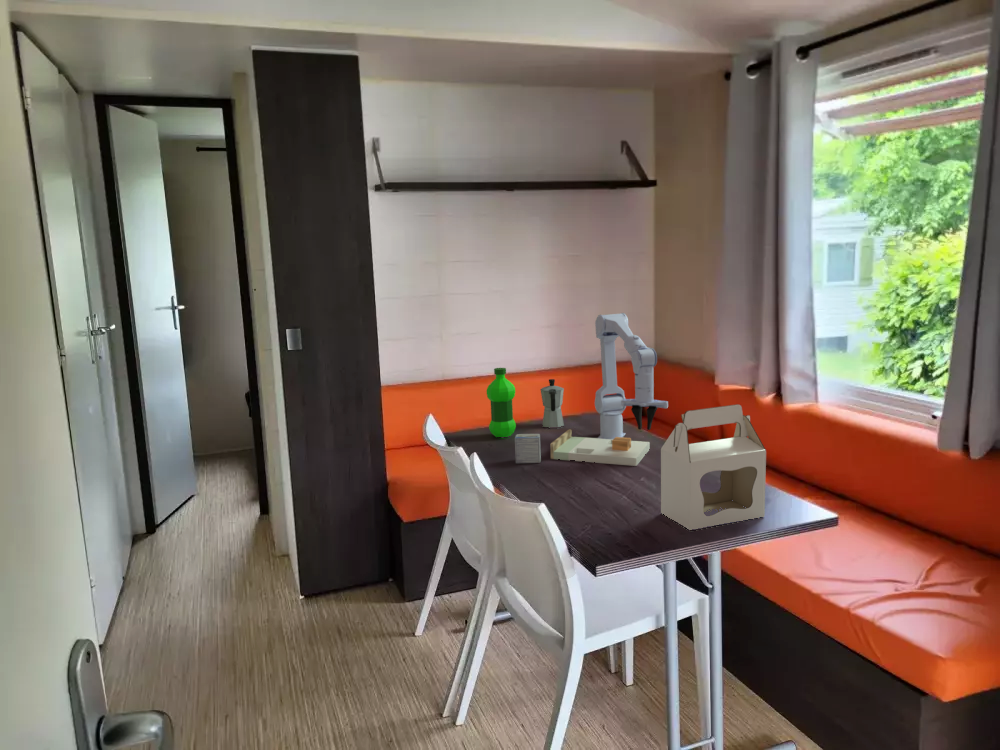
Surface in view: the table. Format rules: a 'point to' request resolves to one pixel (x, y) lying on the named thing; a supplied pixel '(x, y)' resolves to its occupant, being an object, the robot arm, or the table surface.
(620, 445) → the block
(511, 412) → the plastic bottle
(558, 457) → the deck
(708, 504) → the gable box
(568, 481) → the table surface
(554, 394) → the coffee maker
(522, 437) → the medicine box
